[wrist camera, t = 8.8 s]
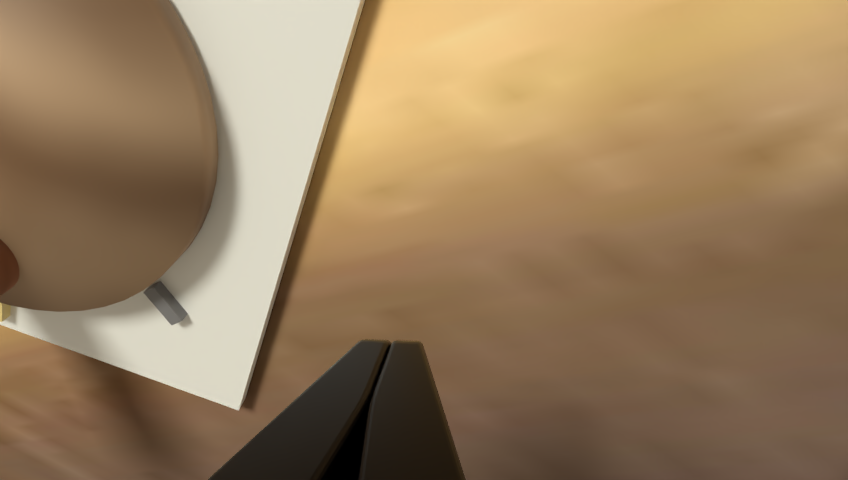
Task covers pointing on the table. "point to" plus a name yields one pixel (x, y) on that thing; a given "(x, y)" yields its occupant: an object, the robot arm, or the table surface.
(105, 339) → the dial plate
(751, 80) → the table surface
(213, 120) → the dial
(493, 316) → the table surface
